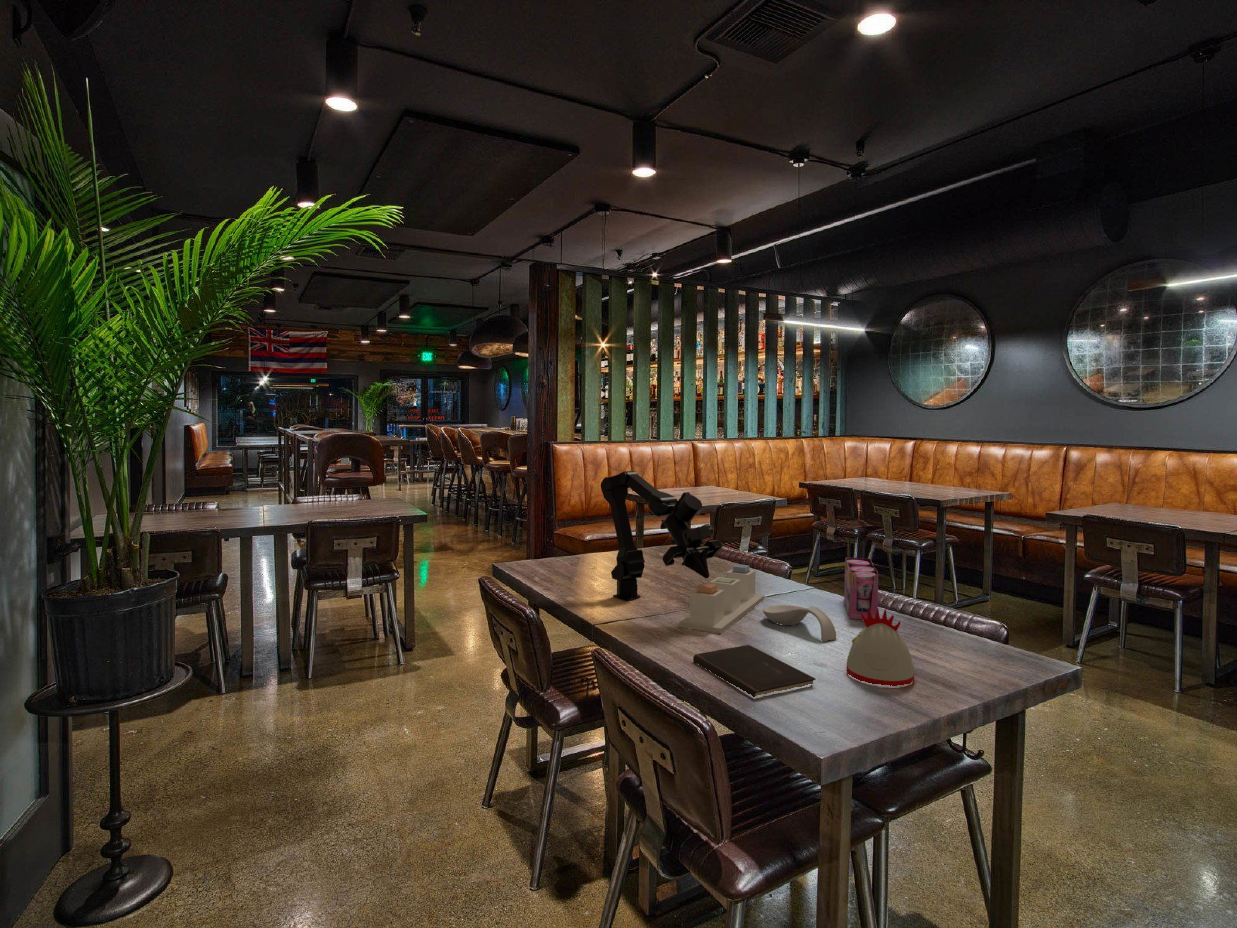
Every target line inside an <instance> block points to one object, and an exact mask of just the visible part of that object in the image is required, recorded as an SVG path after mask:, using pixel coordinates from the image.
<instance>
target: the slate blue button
mask: <svg viewBox="0 0 1237 928" xmlns="http://www.w3.org/2000/svg"><path fill="white" fill-rule="evenodd" d="M732 569H733V572H734V573H743V574H747V573H749V570H750V564H749V565H746V564H741V563H737V564H735V565H733V566H732Z"/></svg>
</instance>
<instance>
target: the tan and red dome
mask: <svg viewBox="0 0 1237 928" xmlns="http://www.w3.org/2000/svg"><path fill="white" fill-rule="evenodd" d="M879 610H880V609H879V608H878V609H877V612H876V616H875V618H873V617H872V615H871V612H870V609H869V608H868V617H867V618H866V617H864V615H863V614H862V613H861V616H862V619H863V620H862V621H863V623H864V625H865V627H864V628H863V629H862V630H861V631H859V633H858V634H857V635H856V636H855V637H854V638H853V639H852V640H851V643H852V644H851V646H850V649H849V652H848V655H847V659H846V670H845V671H847V673H848V674H849V675H851V676H852V677H854V678H856V679H858V680H860V681H865V682H868V683H872V684H881V685H890V686H891V685H892V686H897V685H904V684H910V683H911V682H912V681H913V680H914V681H915V669H914V664H913V659H912V657H911V652H910V650H909V647H908V645H907V643H906V641H905V640H904V638H903V637H902V635H901V634H900V633H899V632H898V629H899V627H900V625H901V620H899V621H897V624H895V625H894V624H893V622H894V621H893V620H894V618H895V616H894V614H892V615H891V616H890V617H889V619H888V615H887V609H886V608H885V609H884V610H883V613H882V617H880V611H879ZM847 673H846V674H847ZM848 674H847V675H848Z"/></svg>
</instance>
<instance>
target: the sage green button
mask: <svg viewBox="0 0 1237 928" xmlns="http://www.w3.org/2000/svg"><path fill="white" fill-rule="evenodd" d="M716 582H722V583H729V584H731V583H732V582H734V579H726V577H723V578H720V579H718V580H717V581H716Z"/></svg>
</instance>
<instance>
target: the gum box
mask: <svg viewBox="0 0 1237 928" xmlns="http://www.w3.org/2000/svg"><path fill="white" fill-rule="evenodd" d="M843 598H844V599H843V600H844V604H845V608H846V612H847V616H849V617H848V619H849V620H856V619H862V616H861V613H862V614H863V615H864V617H866V618H867V617H868V608H869V609H870V612H871V615H872V617H873V618H875V616H876V612H877V609H879V608H878V607H879V606H878V605H879V604H878V603H879V571H878V570H877V568H876V567H875V566H874V564H873V562H872V559H871V558H866V557H865V558H863V557H848V556H847V557H845V559H844V597H843Z"/></svg>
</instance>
